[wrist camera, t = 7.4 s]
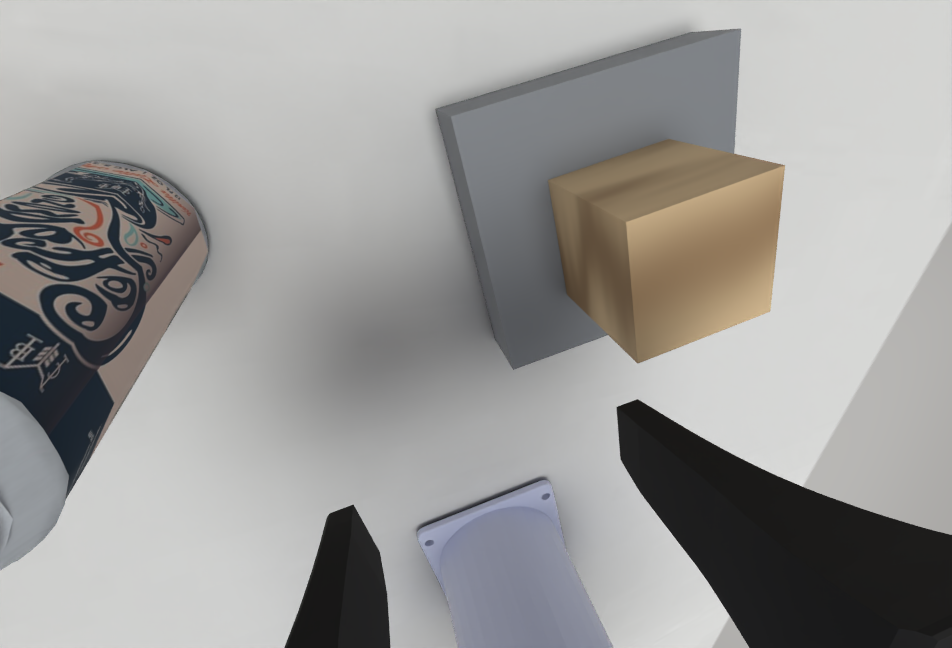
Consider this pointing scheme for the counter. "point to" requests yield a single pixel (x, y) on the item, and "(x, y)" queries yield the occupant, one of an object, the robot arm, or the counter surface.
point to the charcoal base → (572, 167)
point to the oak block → (669, 242)
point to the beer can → (80, 323)
